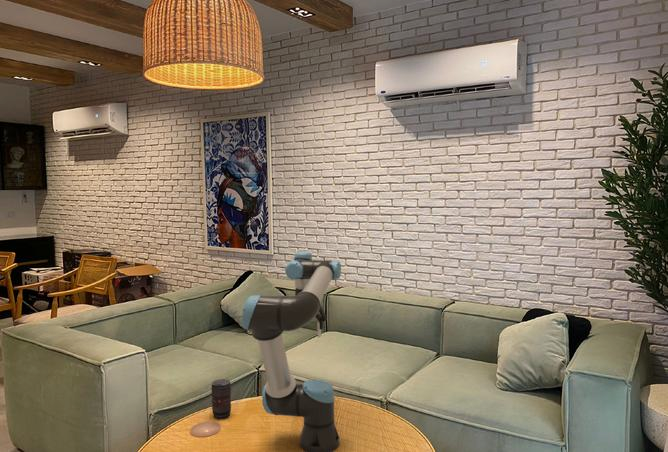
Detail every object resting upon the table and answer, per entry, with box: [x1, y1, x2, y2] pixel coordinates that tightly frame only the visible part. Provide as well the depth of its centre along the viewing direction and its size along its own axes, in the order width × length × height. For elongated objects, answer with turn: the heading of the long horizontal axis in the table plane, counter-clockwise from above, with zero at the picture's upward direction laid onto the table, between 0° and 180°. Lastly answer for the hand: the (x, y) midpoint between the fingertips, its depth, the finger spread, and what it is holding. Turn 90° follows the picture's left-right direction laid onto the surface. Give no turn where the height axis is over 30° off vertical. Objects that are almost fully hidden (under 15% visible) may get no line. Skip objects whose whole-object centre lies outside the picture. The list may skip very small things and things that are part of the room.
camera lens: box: [210, 378, 232, 420], centre depth 214 cm, size 8×8×15 cm
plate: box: [189, 421, 222, 438], centre depth 202 cm, size 12×12×1 cm
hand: (304, 335), depth 219 cm, fingers open, 13 cm apart
